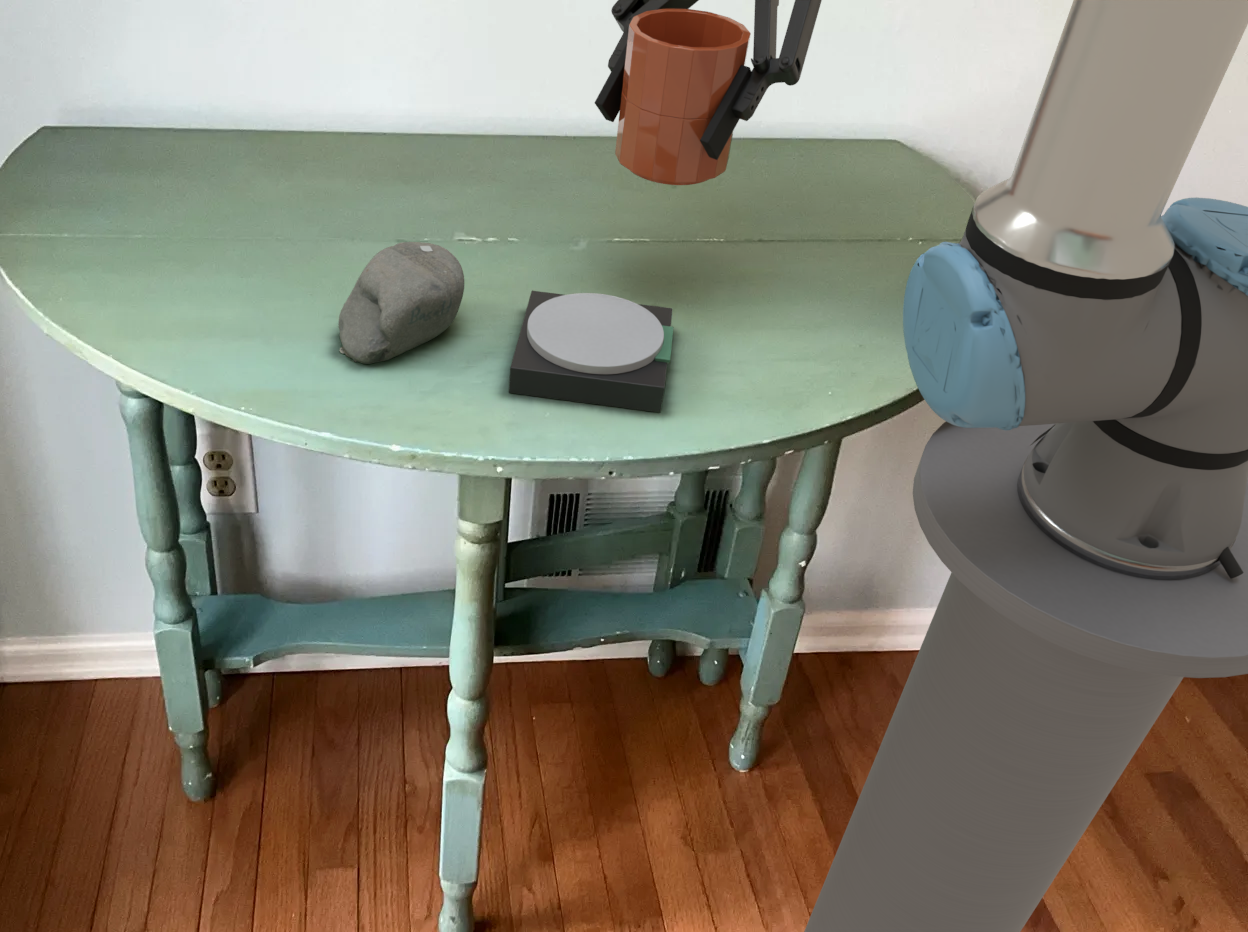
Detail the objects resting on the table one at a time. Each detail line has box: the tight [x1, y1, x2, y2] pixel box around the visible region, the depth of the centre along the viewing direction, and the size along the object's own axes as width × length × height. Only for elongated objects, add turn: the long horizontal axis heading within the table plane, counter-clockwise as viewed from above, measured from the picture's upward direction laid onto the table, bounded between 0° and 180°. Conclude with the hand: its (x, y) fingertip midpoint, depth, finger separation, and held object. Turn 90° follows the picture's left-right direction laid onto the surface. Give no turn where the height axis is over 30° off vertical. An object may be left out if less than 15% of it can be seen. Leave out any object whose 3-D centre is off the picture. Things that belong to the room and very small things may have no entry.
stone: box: [337, 241, 465, 365], centre depth 98 cm, size 9×9×10 cm
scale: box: [508, 290, 674, 413], centre depth 96 cm, size 12×12×3 cm
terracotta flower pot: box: [614, 8, 751, 186], centre depth 95 cm, size 9×9×11 cm
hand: (655, 131), depth 94 cm, fingers closed on terracotta flower pot, 9 cm apart
